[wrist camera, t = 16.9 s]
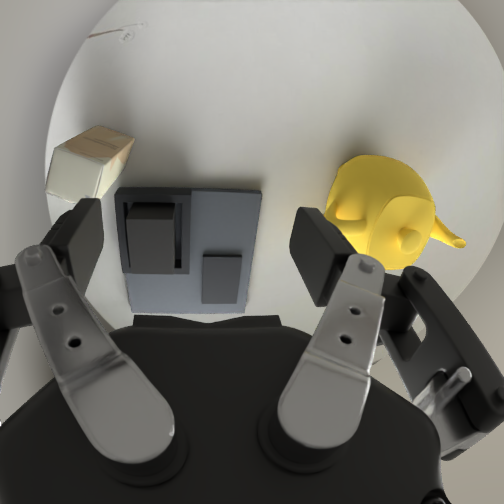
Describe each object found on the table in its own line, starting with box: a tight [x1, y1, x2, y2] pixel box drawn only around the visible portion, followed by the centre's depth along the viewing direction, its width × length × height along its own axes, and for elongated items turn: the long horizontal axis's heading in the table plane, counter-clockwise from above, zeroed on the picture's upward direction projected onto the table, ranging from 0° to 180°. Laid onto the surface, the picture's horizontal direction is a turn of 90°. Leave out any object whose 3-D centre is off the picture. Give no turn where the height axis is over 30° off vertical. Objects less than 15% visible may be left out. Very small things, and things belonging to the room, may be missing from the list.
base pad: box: [114, 187, 262, 314], centre depth 38 cm, size 17×19×3 cm
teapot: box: [323, 155, 466, 270], centre depth 33 cm, size 13×20×12 cm
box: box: [45, 125, 134, 204], centre depth 25 cm, size 5×4×11 cm
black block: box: [126, 202, 176, 275], centre depth 33 cm, size 5×7×4 cm
